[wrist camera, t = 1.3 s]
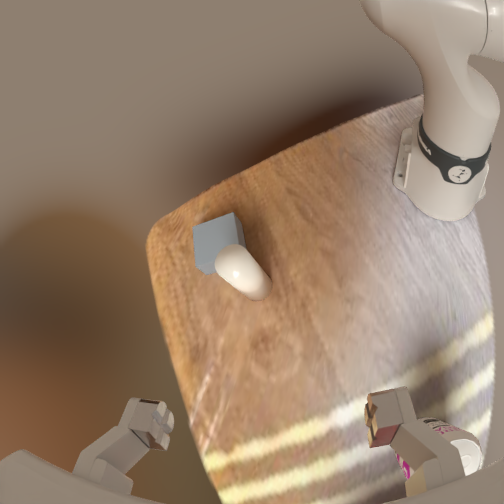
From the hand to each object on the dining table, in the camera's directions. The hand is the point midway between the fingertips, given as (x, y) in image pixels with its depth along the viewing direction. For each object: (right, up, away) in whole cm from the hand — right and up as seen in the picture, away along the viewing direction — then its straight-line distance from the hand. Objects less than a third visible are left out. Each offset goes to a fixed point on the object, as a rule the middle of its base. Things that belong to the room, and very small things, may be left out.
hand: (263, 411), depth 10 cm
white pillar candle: (+1, 0, +37) cm, 37 cm away
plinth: (-5, +7, +42) cm, 43 cm away
